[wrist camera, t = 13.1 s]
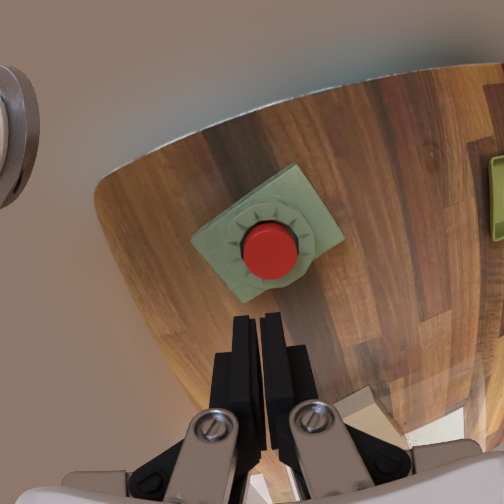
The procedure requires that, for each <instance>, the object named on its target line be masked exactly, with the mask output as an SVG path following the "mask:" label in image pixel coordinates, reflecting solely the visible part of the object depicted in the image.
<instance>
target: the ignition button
mask: <svg viewBox="0 0 504 504" xmlns="http://www.w3.org/2000/svg"><path fill="white" fill-rule="evenodd" d="M244 261H245V264H246V266H247V268H248V269H249V271H250V272H251V273H253V274H254V275H255V276H257V277H259V278H262V279H268V280H273V279H278V278H281V277H283V276H285V275H286V274H288V273H289V272H290V271H291V270H292V269H293V267H294V266H295V263H296V261H297V248H296V245H295V242H294V239H293V237H292V235H291V233H290V232H289V231H288V230H287V229H286V228H285V227H283V226H281V225H279V224H276V223H264V224H261V225H258V226H256V227H255V228H253V229H252V230H251V231H250V232H249V234H248V235H247V237H246V240H245V244H244Z"/></svg>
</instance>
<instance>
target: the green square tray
mask: <svg viewBox="0 0 504 504" xmlns="http://www.w3.org/2000/svg"><path fill="white" fill-rule="evenodd" d="M488 171H489V190H490V230H491V236H492V240H493V241H494V242H497V241H500V240H502V239H504V155H502V156H496V157H492V158H491V160H490V161H489V164H488Z"/></svg>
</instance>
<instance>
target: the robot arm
mask: <svg viewBox="0 0 504 504" xmlns="http://www.w3.org/2000/svg"><path fill="white" fill-rule="evenodd" d="M8 137H9V127H8V117H7V112H6V108H5V105H4V103H3V101H2V98H1V97H0V173H1V171H2V168H3V166H4V162H5V158H6V154H7V148H8ZM265 316H266V317H265V318H260V329H261V343H262V358H263V372H264V387H265V399H266V408H267V416H268V423H269V431H270V439H271V447H272V450H276V449H278V451H279V460H280V461H281V462H283V463H284V464H286V465H287V466H289V467H290V468H291V473H292V476H293V479H294V482H295V486H296V489H297V492H298V495H299V498H300V501H296V502H287V503H277V504H504V451H495V452H494V451H493V452H484V453H482V449H481V447H480V445H479V444H478V443H477V442H476V441H474V440H472V439H459V440H454V441H448V442H442V443H436V444H429V445H421V446H413V447H412V449H408V450H403V449H402V448H400V447H398V446H395V445H393V444H391V443H388V442H386V441H383V440H381V439H379V438H376V437H374V436H372V435H370V434H367V433H365V432H363V431H361V430H358V429H356V428H354V427H352V426H350V425H348V424H346V423H344V422H343V420H342V418H341V416H340V414H339V412H338V410H337V409H336V407H335V406H334V405H332V404H331V403H329V402H327V401H324V400H319V399H318V394H317V390H316V386H315V382H314V378H313V373H312V369H311V365H310V361H309V357H308V353H307V349H306V346H305V345H297V346H289V347H286V343H285V337H284V331H283V326H282V320H281V314H280V312H275V313H265ZM264 450H267V444H266V428H265V412H264V396H263V380H262V370H261V362H260V354H259V346H258V338H257V330H256V322H255V319H249V315H245V316H234V320H233V339H232V352H224V353H216V354H215V359H214V367H213V376H212V385H211V394H210V403H209V409H206V410H203V411H201V412H200V413H198V414H197V415H196V416H194V418H192V420H191V422H190V424H189V427H188V430H187V433H186V436H185V438H184V439H183V440H181V441H180V442H178V443H177V444H175V445H174V446H172V447H171V448H169V449H168V450H166V451H165V452H163V453H162V454H160V455H158V456H157V457H155V458H154V459H152V460H151V461H149V462H147V463H146V464H144V465H143V466H141V467H139V468H138V469H137V470H135V471H134V472H131V473H127V472H126V471H125V470H124V471H123V470H122V471H76V472H71V473H69V474H68V475H66V477H65V478H64V479H63V481H62V485H61V486H44V487H38V488H33V489H30V490H28V491H26V492H24V493H23V494H22V495H21V496H20V497H19V498H18V500H17V501H16V503H15V504H246V500H247V494H248V488H249V482H250V476H251V469H252V468H253V467H254V466H256V465H257V464H258V463H259V462H260V461H259V459H261V451H264Z"/></svg>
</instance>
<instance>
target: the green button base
mask: <svg viewBox="0 0 504 504" xmlns="http://www.w3.org/2000/svg"><path fill="white" fill-rule="evenodd" d="M264 223H276V224H279V225H281V226H283V227H285V228H286V229H287V230H288V231H289V232H290V233H291V235H292V237H293V239H294V242H295V245H296V248H297V261H296V263H295V266H294V267H293V269H292V270H291V271H290V272H289V273H288V274H286V275H285V276H283V277H281V278H278V279H273V280H268V279H262V278H259V277H257V276H255V275H254V274H253V273H251V272H250V271H249V269H248V268H247V266H246V264H245V261H244V244H245V240H246V237H247V235H248V234H249V232H250V231H251V230H252V229H253V228H255V227H256V226H258V225H261V224H264ZM343 240H345V236H344V235H343V233H342V232H341V230H340V228H339V227H338V225H337V224H336V222H335V220H334V219H333V217H332V216H331V214H330V212H329V211H328V209H327V208H326V206H325V205H324V203H323V202H322V200H321V199H320V197H319V196H318V194H317V193H316V191H315V190H314V188H313V187H312V185H311V184H310V182H309V181H308V179H307V178H306V176H305V175H304V173H303V172H302V170H301V169H300V168H299V166H298V165H297V164H296V163H294V162H292V163H291V164H289V165H288V166H286V167H285V168H283V169H282V170H280V171H279V172H278V173H276V174H275V175H273V176H272V177H270V178H269V179H267V180H266V181H265V182H263V183H262V184H260V185H259V186H258V187H256V188H255V189H253V190H252V191H250V192H249V193H248V194H246V195H245V196H243V197H242V198H241V199H239V200H238V201H237V202H235V203H234V204H232V205H231V206H230V207H228V208H227V209H226V210H224V211H223V212H221V213H220V214H219V215H217V216H216V217H215V218H213V219H212V220H211V221H209V222H208V223H207V224H205V225H204V226H202V227H201V228H200V229H198V230H197V231H196V232H195V233H194V235H193V237H192V238H191V240H190V242H191V243H192V245H193V246H194V247H195V248H196V249H197V251H198V252H199V253H200V254H201V255H202V257H203V258H204V259H205V260H206V261H207V262H208V264H209V265H210V266H211V267H212V268H213V270H214V271H215V272H216V273H217V274H218V275H219V277H220V278H221V279H222V280H223V281H224V282H225V284H226V285H227V286H228V287H229V288H230V289H231V291H232V292H233V293H234V294H235V295H236V296H237V297H238V299H239V300H240V301H241V302H242V303H243V304H245V303H247V302H248V301H250V300H252V299H253V298H255V297H256V296H258V295H260V294H261V293H263V292H264V291H266V290H268V289H271V288H281V287H286V286H287V285H289V284H291V283H292V282H294V281H295V280H297V279H299V278H300V277H302V276H303V275H304V274H305V273H306V271H307V269H308V267H309V266H310V264H311V262H312V261H313V260H314V259H316V258H317V257H319V256H320V255H322V254H323V253H325V252H327V251H328V250H330V249H331V248H333V247H334V246H336V245H337V244H339V243H340V242H342V241H343Z"/></svg>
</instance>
